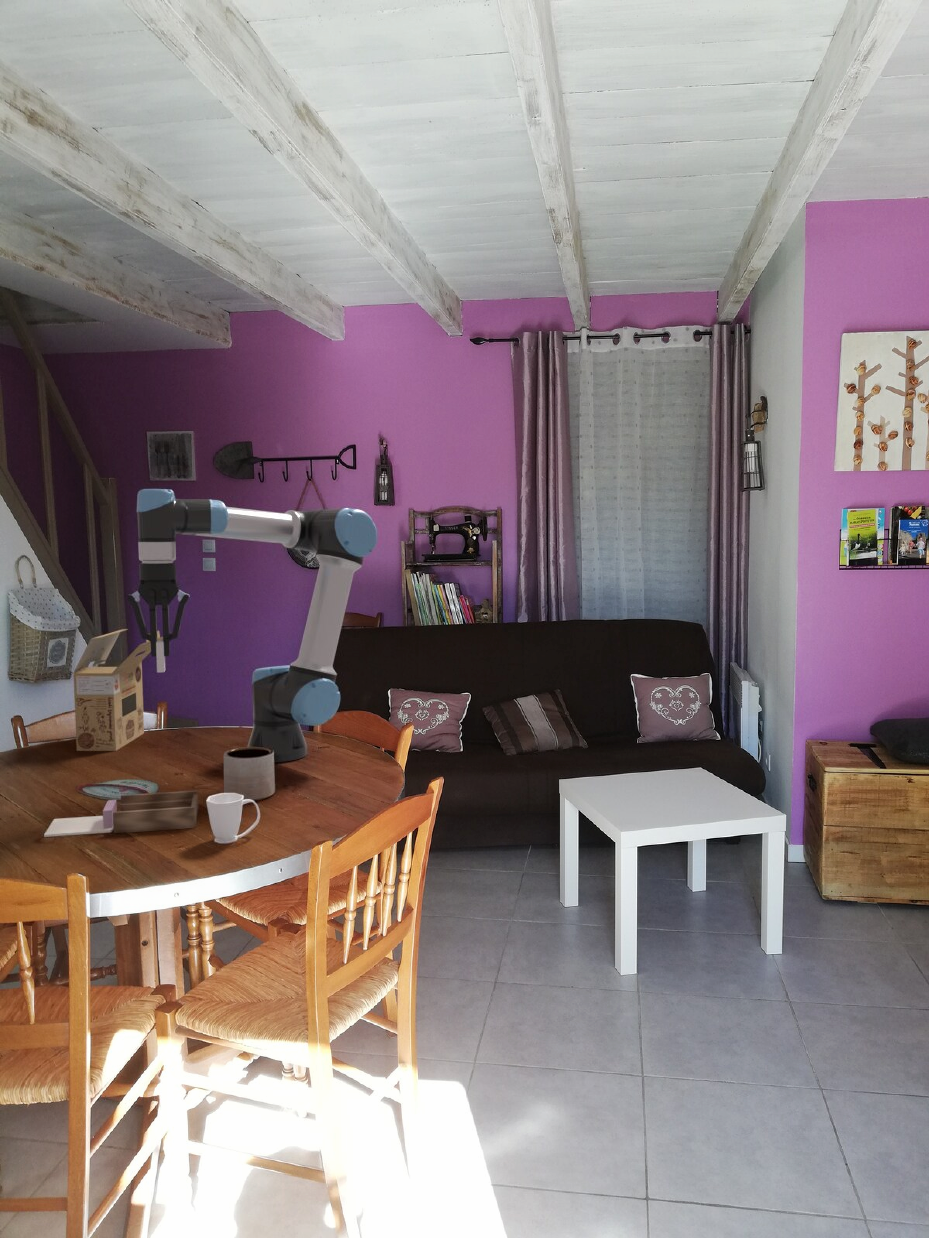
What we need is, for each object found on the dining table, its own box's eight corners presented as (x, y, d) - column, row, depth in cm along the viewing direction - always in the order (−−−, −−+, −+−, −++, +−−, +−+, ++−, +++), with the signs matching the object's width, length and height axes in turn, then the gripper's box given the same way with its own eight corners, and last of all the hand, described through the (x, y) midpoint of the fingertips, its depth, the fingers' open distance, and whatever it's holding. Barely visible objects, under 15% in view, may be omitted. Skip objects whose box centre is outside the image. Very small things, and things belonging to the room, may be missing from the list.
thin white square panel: (118, 818, 186) (117, 797, 186) (111, 834, 177) (110, 812, 176) (54, 823, 183) (53, 801, 183) (44, 839, 174) (43, 816, 174)
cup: (203, 836, 174) (201, 795, 173) (255, 828, 179) (254, 788, 178) (211, 848, 168) (210, 805, 167) (265, 839, 173) (264, 797, 172)
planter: (284, 790, 205) (283, 748, 204) (258, 804, 194) (257, 760, 193) (242, 786, 208) (241, 744, 207) (214, 799, 198) (212, 756, 197)
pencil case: (198, 809, 191) (197, 790, 191) (195, 827, 179) (194, 807, 179) (121, 814, 188) (121, 795, 187) (113, 833, 176) (112, 813, 176)
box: (143, 751, 240) (139, 637, 237) (68, 750, 240) (63, 637, 237) (169, 733, 261) (166, 628, 258) (100, 732, 261) (95, 628, 258)
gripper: (190, 561, 201) (193, 667, 203) (127, 561, 198) (131, 669, 200) (188, 562, 194) (191, 673, 196) (123, 563, 191) (127, 675, 193)
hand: (161, 671), depth 198 cm, fingers closed
